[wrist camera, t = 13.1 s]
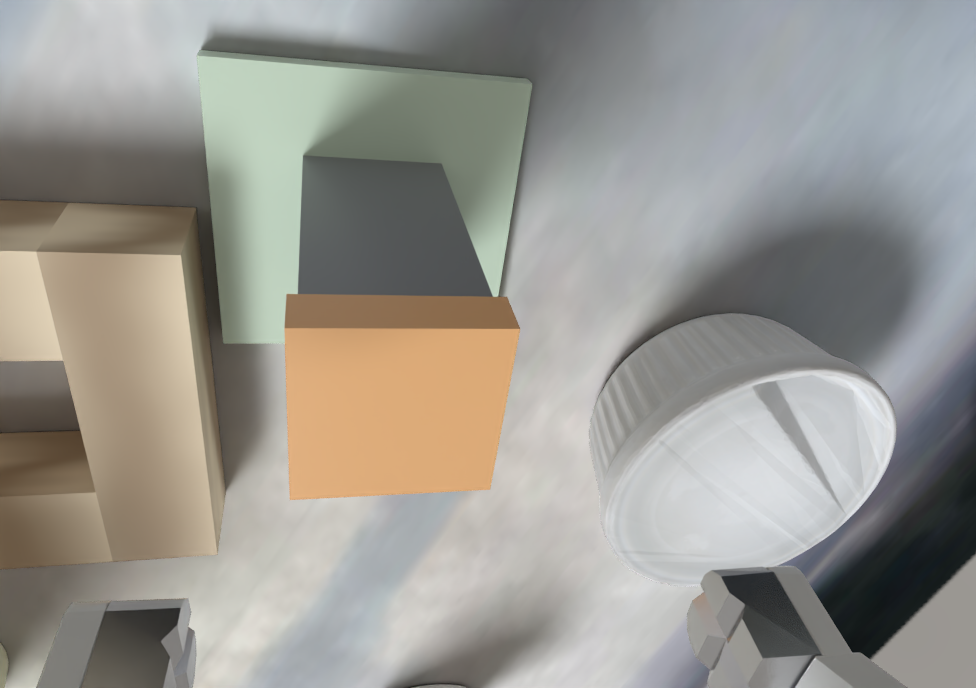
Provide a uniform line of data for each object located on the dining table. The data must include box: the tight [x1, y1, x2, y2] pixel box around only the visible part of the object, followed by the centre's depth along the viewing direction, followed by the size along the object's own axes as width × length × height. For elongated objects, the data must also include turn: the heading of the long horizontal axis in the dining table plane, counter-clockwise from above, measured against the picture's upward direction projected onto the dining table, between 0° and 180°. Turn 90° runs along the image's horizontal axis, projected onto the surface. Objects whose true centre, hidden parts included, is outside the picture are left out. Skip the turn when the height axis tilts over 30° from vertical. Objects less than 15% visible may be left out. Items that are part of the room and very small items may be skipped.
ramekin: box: [589, 313, 897, 587], centre depth 28 cm, size 11×11×5 cm
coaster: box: [197, 50, 532, 344], centre depth 22 cm, size 9×9×1 cm
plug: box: [284, 156, 520, 500], centre depth 18 cm, size 4×4×9 cm
